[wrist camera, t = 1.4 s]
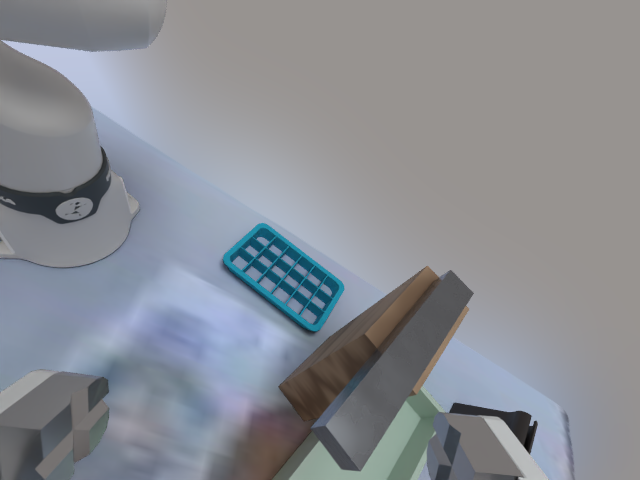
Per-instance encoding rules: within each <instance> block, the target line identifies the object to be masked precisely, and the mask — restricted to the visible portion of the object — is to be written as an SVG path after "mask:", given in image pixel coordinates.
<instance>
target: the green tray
mask: <svg viewBox="0 0 640 480" xmlns="http://www.w3.org/2000/svg"><path fill="white" fill-rule="evenodd" d="M438 412H444V413H446V412H445V411H444V410H443V409H442V407H441V406H440V405H439V404H438V403H437V402H436V401H435V399H434V398H433V397H432V396H431V395H430V394H429V392H428V391H427V390H426V389H425V388H424V387H423V385H422V387H421V389H420V390H419V392H418V394H417V395H414V396H409V397H408V398H407V399H406V401H405V402H404V404H403V406H402V407H401V409H400V410H399V412H398V413H397V415H396V417H395V418H394V420H393V421H392V423H391V424H390V426H389V428H388V429H387V431H386V432H385V434H384V436H383V437H382V439H381V440H380V442H379V443H378V445H377V447H376V448H375V450H374V451H373V453H372V454H371V456H370V458H369V459H368V461H367V462H366V464H365V465H364V467H363V469H362V470H361V472H360V471H350V470H341V469H340V467H339V466H338V465H337V463H336V462H335V461H334V459H333V458H332V457H331V455H330V454H329V453H328V451H327V450H326V448H325V447H324V446H323V444H322V443H321V442H320V440H319V439H318V438H317V436H316V435H315V434H314V432H313V431H312V432H311V433H310V434H309V435H308V437H307V438H306V439H305V440H304V441H303V443H302V444H301V445H300V446H299V447H298V449H297V450H296V451H295V452H294V453H293V455H292V456H291V457H290V458H289V459H288V461H287V462H286V463H285V464H284V466H283V467H282V468H281V469H280V470H279V472H278V473H277V474H276V475H275V476H274V478H273V479H272V480H417V479H418V477H419V475H420V473H421V471H422V469H423V467H424V465H425V463H426V461H427V447H428V442H429V440H430V439H431V438H432V437H433V436H434V435H435V434H436V432H435V429H434V427H433V422H434V418H435V416H436V414H437V413H438Z"/></svg>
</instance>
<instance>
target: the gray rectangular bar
mask: <svg viewBox="0 0 640 480" xmlns="http://www.w3.org/2000/svg"><path fill="white" fill-rule="evenodd" d="M473 294H474V293H473V292H472V291H471V290H470V289H469V288H468V287H467V286H466V285H465V284H464V283H463V282H462V281H461V280H460V279H459V278H458V277H457V276H456V275H455V274H454V273H453V272H452V271H451V270H450V271H448V272H447V273H445V274H444V275H442V276H440V277H439V278H437V279H436V280H434V281H433V282H432V284H431V285H430V286H429V287H428V288H427V290H426V291H425V292H424V293H423V294H422V296H421V297H420V298H419V299H418V300H417V301H416V303H415V304H414V305H413V306H412V307H411V309H410V310H409V311H408V312H407V313H406V315H405V316H404V317H403V318H402V319H401V321H400V322H399V323H398V324H397V325H396V327H395V328H394V329H393V330H392V331H391V333H390V334H389V335H388V336H387V337H386V339H385V340H384V341H383V342H382V343H381V344H380V346H379V347H378V348H377V349H376V350H375V352H374V353H373V354H372V355H371V356H370V358H369V359H368V360H367V361H366V362H365V364H364V365H363V366H362V367H361V368H360V370H359V371H358V372H357V373H356V374H355V376H354V377H353V378H352V379H351V380H350V382H349V383H348V384H347V385H346V386H345V387H344V389H343V390H342V391H341V392H340V393H339V395H338V396H337V397H336V398H335V399H334V401H333V402H332V403H331V404H330V405H329V407H328V408H327V409H326V410H325V411H324V413H323V414H322V415H321V416H320V417H319V419H318V420H317V421H316V422H315V423H314V425H313V426H312V427H311V430H312V431H313V432H314V434H315V435H316V436H317V438H318V439H319V440H320V442H321V443H322V444H323V446H324V447H325V448H326V450H327V451H328V453H329V454H330V455H331V457H332V458H333V459H334V461H335V462H336V463H337V465H338V466H339V467H340V469H341V470H350V471H360V472H361V470H362V469H363V467H364V465H365V464H366V462H367V461H368V459H369V458H370V456H371V454H372V453H373V451H374V450H375V448H376V447H377V445H378V443H379V442H380V440H381V439H382V437H383V436H384V434H385V432H386V431H387V429H388V428H389V426H390V424H391V423H392V421H393V420H394V418H395V417H396V415H397V413H398V412H399V410H400V409H401V407H402V406H403V404H404V402H405V401H406V399H407V398H408V396H409V395H410V393H411V391H412V390H413V388H414V387H415V385H416V383H417V382H418V380H419V379H420V377H421V376H422V374H423V372H424V371H425V369H426V368H427V366H428V365H429V363H430V361H431V360H432V358H433V357H434V355H435V354H436V352H437V350H438V349H439V347H440V346H441V344H442V342H443V341H444V339H445V338H446V336H447V335H448V333H449V331H450V330H451V328H452V327H453V325H454V324H455V322H456V320H457V319H458V317H459V316H460V314H461V313H462V311H463V309H464V308H465V306H466V304H467V303H468V301H469V300H470V298H471V297H472V295H473Z"/></svg>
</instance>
